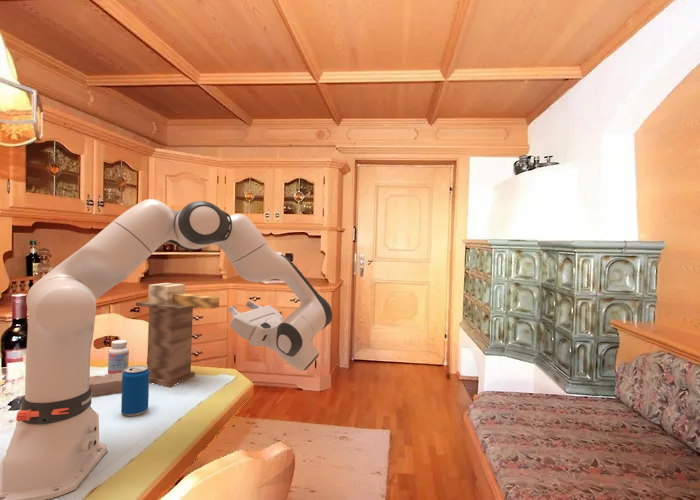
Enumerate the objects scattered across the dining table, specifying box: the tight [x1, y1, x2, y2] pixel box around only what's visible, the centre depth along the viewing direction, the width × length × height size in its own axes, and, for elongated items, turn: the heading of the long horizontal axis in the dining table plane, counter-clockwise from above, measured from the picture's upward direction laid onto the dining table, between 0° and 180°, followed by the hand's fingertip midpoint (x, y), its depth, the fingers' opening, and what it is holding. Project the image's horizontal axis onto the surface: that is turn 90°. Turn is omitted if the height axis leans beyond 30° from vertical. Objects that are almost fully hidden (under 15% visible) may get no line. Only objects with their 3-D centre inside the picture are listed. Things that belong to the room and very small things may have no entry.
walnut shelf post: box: [135, 300, 198, 388], centre depth 131 cm, size 18×12×26 cm, turn 71°
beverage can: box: [120, 365, 150, 417], centre depth 106 cm, size 6×6×12 cm
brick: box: [89, 373, 123, 398], centre depth 119 cm, size 17×8×5 cm, turn 123°
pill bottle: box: [107, 339, 130, 375], centre depth 134 cm, size 6×6×11 cm
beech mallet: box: [147, 282, 220, 310], centre depth 129 cm, size 24×8×6 cm, turn 71°
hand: (239, 305), depth 122 cm, fingers open, 8 cm apart
